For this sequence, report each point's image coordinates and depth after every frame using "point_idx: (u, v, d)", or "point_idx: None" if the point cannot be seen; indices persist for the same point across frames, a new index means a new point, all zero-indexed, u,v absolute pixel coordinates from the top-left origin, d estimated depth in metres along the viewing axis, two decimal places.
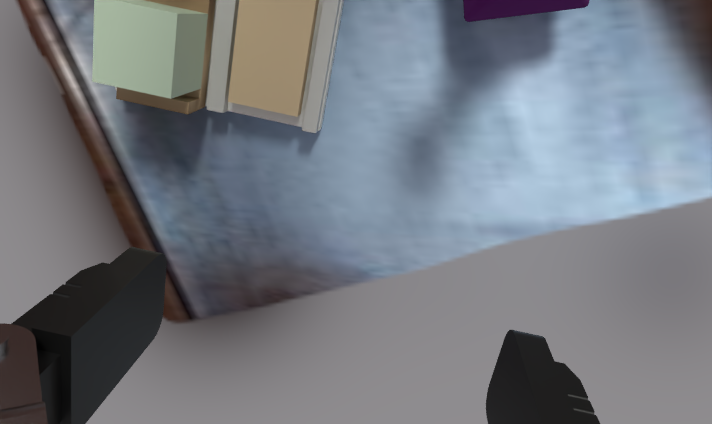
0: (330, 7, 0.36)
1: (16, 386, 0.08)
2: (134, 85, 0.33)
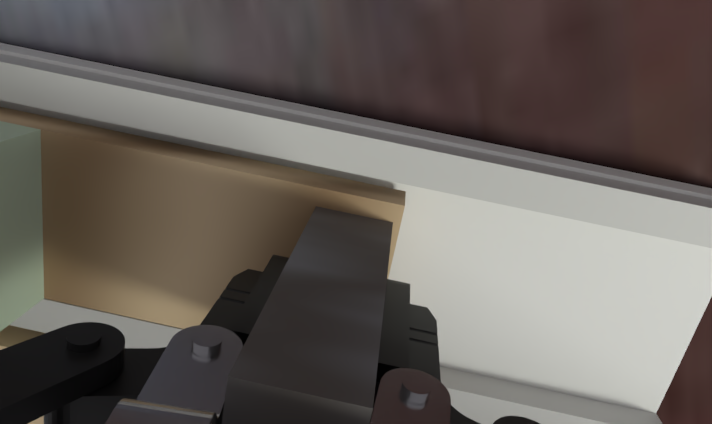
0: None
1: None
2: None
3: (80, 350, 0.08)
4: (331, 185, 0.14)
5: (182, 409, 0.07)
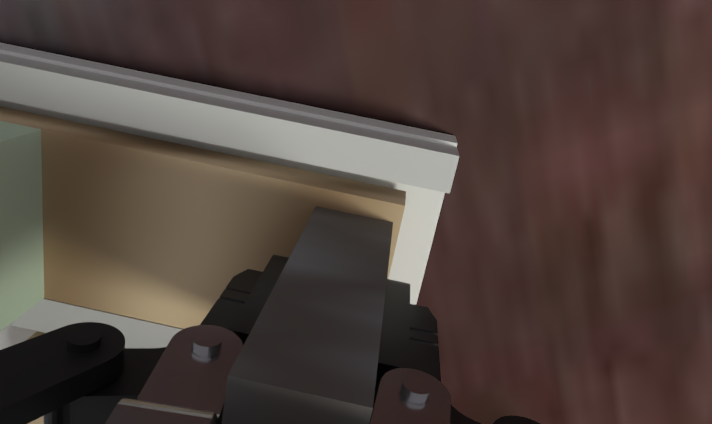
0: None
1: None
2: None
3: (80, 350, 0.08)
4: (331, 185, 0.14)
5: (182, 409, 0.07)
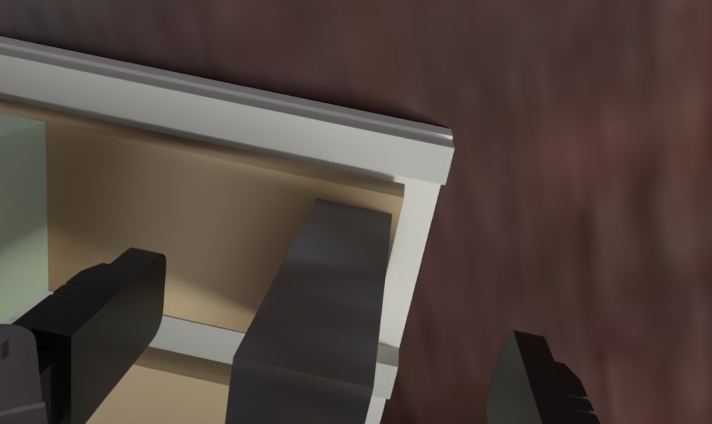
0: None
1: (16, 386, 0.08)
2: None
3: None
4: (331, 178, 0.14)
5: (5, 410, 0.07)
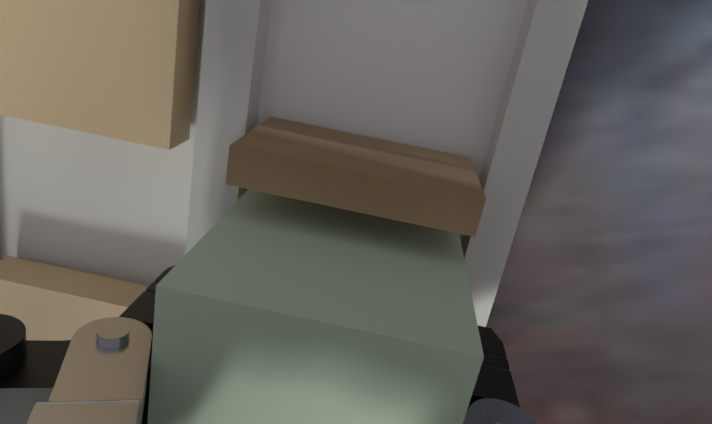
0: None
1: (147, 374, 0.08)
2: (304, 336, 0.08)
3: None
4: None
5: (105, 401, 0.07)
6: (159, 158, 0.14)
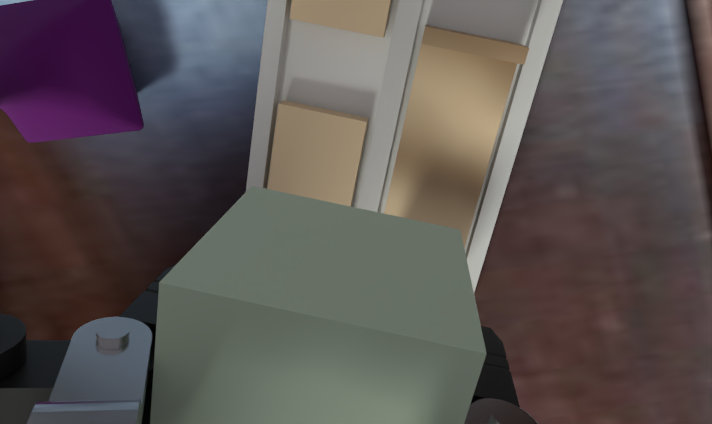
0: (275, 4, 0.29)
1: (147, 374, 0.08)
2: (307, 333, 0.08)
3: None
4: None
5: (105, 401, 0.07)
6: (366, 47, 0.30)
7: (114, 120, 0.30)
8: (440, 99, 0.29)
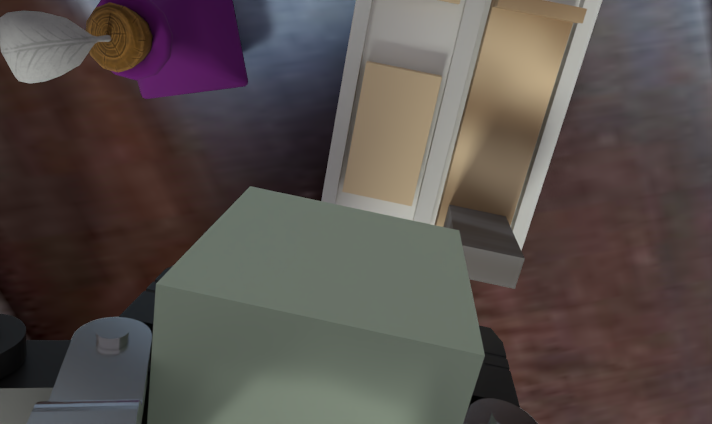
0: None
1: (147, 374, 0.08)
2: (304, 335, 0.08)
3: None
4: (511, 219, 0.38)
5: (105, 401, 0.07)
6: (441, 14, 0.35)
7: (226, 76, 0.35)
8: (506, 56, 0.34)
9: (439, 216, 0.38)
